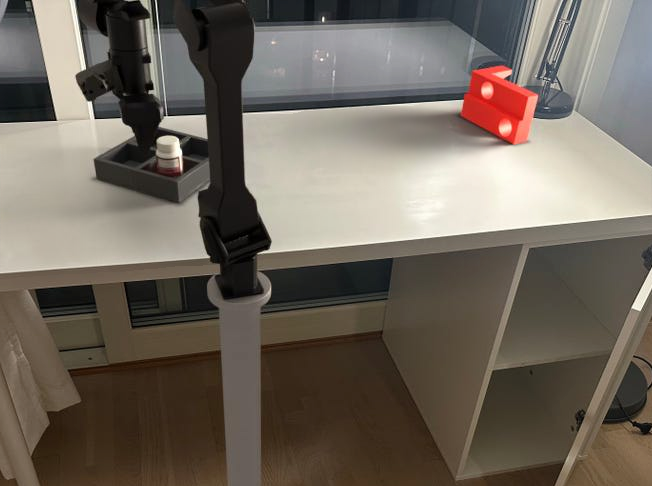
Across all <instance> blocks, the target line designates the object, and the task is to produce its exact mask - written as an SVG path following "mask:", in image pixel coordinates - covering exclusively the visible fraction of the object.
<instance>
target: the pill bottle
mask: <svg viewBox="0 0 652 486" xmlns="http://www.w3.org/2000/svg"><path fill="white" fill-rule="evenodd" d="M179 146H180V145H179V139H178V138H177V137H174V136H162V137H160V138H158V139H157V148H158V149H157V151H156V158H157V167H158V174H159V175H163V176H166V177H170V178H174V179H177V178H178V177H180V176H181V175H183V174H184V172H183V160H182V151H181V149H180V148H179Z"/></svg>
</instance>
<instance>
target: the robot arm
mask: <svg viewBox="0 0 652 486" xmlns="http://www.w3.org/2000/svg"><path fill="white" fill-rule="evenodd" d="M208 2H210V3H212V5H208V6H203V7H195V8H194V9H192V10H191V9H190V7H189V5H188V4H187V2H186V1H185V0H173V18H172V19H173V23H174V25H175V27H176V28H177V30H178V31H179V33H180V35H181V37H182V38H183V40H184V42H185V44H186V45H187V46H186V47H187V51H188V52H187V53H188V57H189V58H188V59H189V60H190V62H191V64H192V65H193V67H194V68H195V69H196V71H197V73H198V75H200V77H201V78H202V81H203V82H202V83H203V93H204V108H205V124H206V139H207V140H208V154H209V169H210V181H209V185H208V187H207V188H204V189H202V190H199V191H198V193H197V197H196V198H197V203H198V214H197V215H198V216H197V217H198V218H199V219H200V220H199V230H200V234H201V237H202V242H203V246H204V250H205V253H206V255H207V256H208V257H209V261H210V262H211V264H217V265H219V272H220V274H217V273H216V274H217V275H215V274H214V275H215V281H216V283H217V285H218V288H219V290H220V293H221V295H222V297H223V299H224V300H228V299H234V298H241V297H247V296H253V295H260V294H263V293H264V289H263V287H262V285H261V283H260V281H259V279H258V277H257V271H258V254H260V253H264V252H266V251H269V250H270V249H271V246H272V242H273V240H272V237H271V235H270V233H269V231H268V229H267V227H266V225H265V223H264V221H263V219H262V216H261V214H260V212H259V209H258V202H257V198H256V196H255V195H254V194H253V192H252V191H251V189H249V187H248V185H247V184H246V170H245V169H246V165H245V140H244V139H245V137H244V111H243V109H244V108H243V79H244V77H245V75H246V74H247V71H248V69H249V67H250V65H251V63H252V62H253V59H254V52H255V51H254V49H255V39H256V38H255V36H256V24H255V20H254V18H253V16H252V13H251V12H250V10H249V9H248V7H247V6H246V4H245V2H244V1H243V0H208ZM77 13H78V17H79V19H80V21H81V22H82V23H83V24H84V26H86V27H87V28H89V29H90V30H92V31H94V32H95V33H98V34H100V35H102V36H103V37H106V38H107V39H108V44H109V48H108V51H106V52H107V53H106V54H107V60H104V61H102V62H98V63H96V64H93V65H92V66H90V67H87V68H84V69H83V70H80V71H78V72H77V73H76V74H75V75H74V76H75V81H76V84H77V85H78V88H79V90H80V91H81V94H82V95H83V96H84V98H85V100H86V102H89V103H90V102H93V101H95V100H97V98H99V97H101V96H104V95H105V94H108V93H110V92H112V95H114V96H115V97H116V98H118V99H119V101H118V102H117V104H118V110H119V115H120V118H121V122H122V123H123V125H125V126H128V127H129V128H130V129H131V131H132V133H133V134H134V135H133V136H135V138H136V141H137V144H138V147H139V150H140V153H141V156H147V155H148V154H149V151H150V148H151V145H152V142H153V139H154V137H155V134H156V132H157V129H158V127H160V124H161V123H162V122H163V120H164V118H165V116H164V107H163V105H162V103H161V100H160V98H159V97H157V96H156V95H155V94H154V93H150V91H155V86H154V81H153V80H152V74H151V73H152V72H151V64H152V56H151V54H150V52H149V46H148V45H149V44H148V33H147V25H146V24H147V23H146V20H149V19H151V13H150V12H149V9H147V7H145V6H144V5H143V3H142V1H141V0H79V2H78V8H77Z"/></svg>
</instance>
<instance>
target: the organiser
mask: <svg viewBox="0 0 652 486" xmlns="http://www.w3.org/2000/svg"><path fill="white" fill-rule="evenodd" d="M162 136H174V137H177V138H178V139H179V145H180V146H179V148H180V149H181V151H182V160H183V172H184V174H183V175H181V176H180V177H178V178H177V179H174V178H170V177H166V176H163V175H159V174H158V167H157V158H156V151H157V149H158V148H157V139H158V138H160V137H162ZM92 160H93V165H94V170H95V177H96V179H97V180H99V181H103V182H106V183H110V184H113V185H116V186H120V187H122V188H126V189H129V190H133V191H136V192H140V193H144V194H147V195H150V196H153V197H157V198H161V199H164V200H167V201H171V202H174V203H178V204H180V203H181V202H182V201H184V200H185V199H187V198H188V197H190V196H191V195H192V194H194V193H195V192H197V191H198V190H199V189H201V188H202V187H203V186H205V185H207V183H210V169H209V154H208V140H207V138H205V137H201V136H197V135H193V134H190V133H185V132H182V131H178V130H174V129H171V128H165V127H161V126H159V127H158V129H157V132H156V134H155V137H154V139H153V142H152V145H151V148H150V151H149V154H148V155H147V156H141V153H140V150H139V147H138V144H137V141H136V138H135V135H133V136H131V137H130V138H128V139H126V140H124V141H122V142H120V143H119V144H117V145H116V146H114V147H112V148H110V149H108V150H107V151H104V152H103V153H100V155H97V156H96V157H94V158H93V159H92Z"/></svg>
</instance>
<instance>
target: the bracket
mask: <svg viewBox="0 0 652 486" xmlns="http://www.w3.org/2000/svg"><path fill="white" fill-rule="evenodd" d="M512 71H513V69H511V68H509V67H506V66H504V65H499V66H498V65H497V66H493V67H492V66H491V67H486V68H481V69H475V70H472V71H471V77H470V81H469V87H468V92H467V93H465V94H464V95H463V96H464V97H463V102H462V106H461V111H460V116H461V117H462V118H464V119H466V120H467V121H469V122H472V123H473V124H475V125H478V127H481V128H482V129H484V130H486V131H488V132H490V133H492V134H493V135H495V136H497V137H499V138H501V139H503V140H505V141H507V142H508V143H511V144H512V145H517V144H521V143H526V142H527V141H528V138H529V133H530V130H531V126H532V122H533V118H534V114H535V109H536V106H537V101H538V98H539V94H537V93H535V92H533V91H530V90H529V89H526V88H524V87H522V86H519V85H518V84H515V83H513V82H511V81H508V79H507V80H506V77H508V76H510V75H512Z"/></svg>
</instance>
